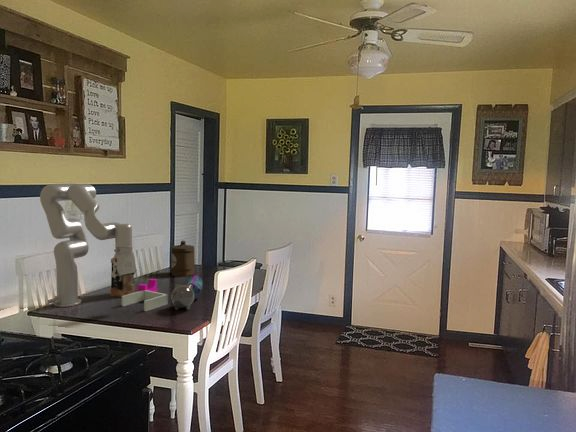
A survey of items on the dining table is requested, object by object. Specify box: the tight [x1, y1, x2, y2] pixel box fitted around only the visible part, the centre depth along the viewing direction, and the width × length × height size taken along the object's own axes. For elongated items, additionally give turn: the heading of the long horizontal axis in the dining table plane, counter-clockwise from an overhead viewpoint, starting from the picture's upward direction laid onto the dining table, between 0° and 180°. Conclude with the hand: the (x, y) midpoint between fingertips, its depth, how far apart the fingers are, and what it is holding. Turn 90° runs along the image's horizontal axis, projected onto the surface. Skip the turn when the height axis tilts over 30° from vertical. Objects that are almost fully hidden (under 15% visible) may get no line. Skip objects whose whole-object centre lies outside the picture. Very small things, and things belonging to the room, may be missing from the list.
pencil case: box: [186, 274, 204, 301], centre depth 262 cm, size 21×9×10 cm, turn 6°
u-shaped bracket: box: [121, 290, 169, 312], centre depth 242 cm, size 15×16×5 cm
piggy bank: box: [170, 283, 195, 311], centre depth 239 cm, size 11×15×12 cm
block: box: [117, 274, 132, 292], centre depth 229 cm, size 5×5×8 cm
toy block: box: [137, 278, 159, 293], centre depth 259 cm, size 15×6×8 cm, turn 171°
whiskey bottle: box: [109, 257, 136, 298], centre depth 260 cm, size 10×10×32 cm
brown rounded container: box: [170, 240, 196, 277], centre depth 315 cm, size 15×15×22 cm
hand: (124, 287), depth 230 cm, fingers closed on block, 5 cm apart
